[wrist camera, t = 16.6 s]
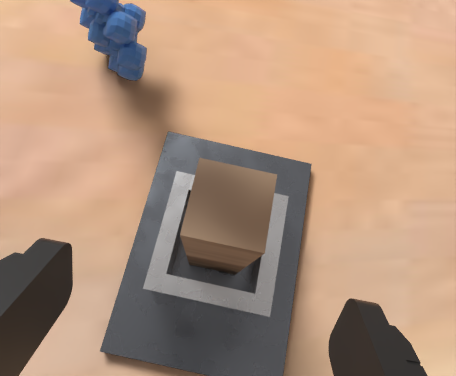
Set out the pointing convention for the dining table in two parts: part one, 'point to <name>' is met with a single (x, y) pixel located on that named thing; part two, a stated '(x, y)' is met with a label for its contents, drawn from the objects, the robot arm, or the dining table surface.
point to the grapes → (116, 34)
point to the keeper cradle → (209, 275)
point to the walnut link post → (227, 216)
